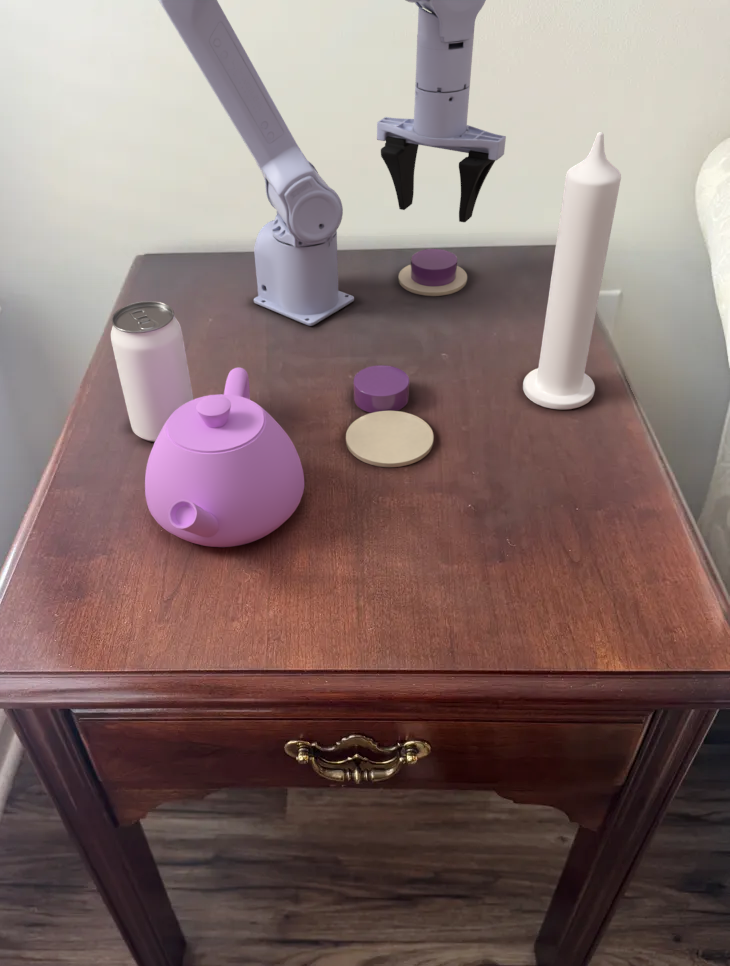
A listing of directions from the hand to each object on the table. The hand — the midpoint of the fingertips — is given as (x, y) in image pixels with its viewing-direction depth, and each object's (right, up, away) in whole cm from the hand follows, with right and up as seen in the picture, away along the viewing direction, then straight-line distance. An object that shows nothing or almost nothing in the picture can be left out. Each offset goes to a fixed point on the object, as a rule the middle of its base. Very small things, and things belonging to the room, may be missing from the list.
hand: (435, 212), depth 99 cm
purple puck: (-7, -23, -12) cm, 27 cm away
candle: (+11, -23, -12) cm, 28 cm away
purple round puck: (+1, -5, +6) cm, 8 cm away
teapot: (-22, -35, -23) cm, 48 cm away
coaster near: (-7, -28, -17) cm, 34 cm away
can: (-29, -27, -14) cm, 41 cm away
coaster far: (0, -6, +6) cm, 9 cm away
